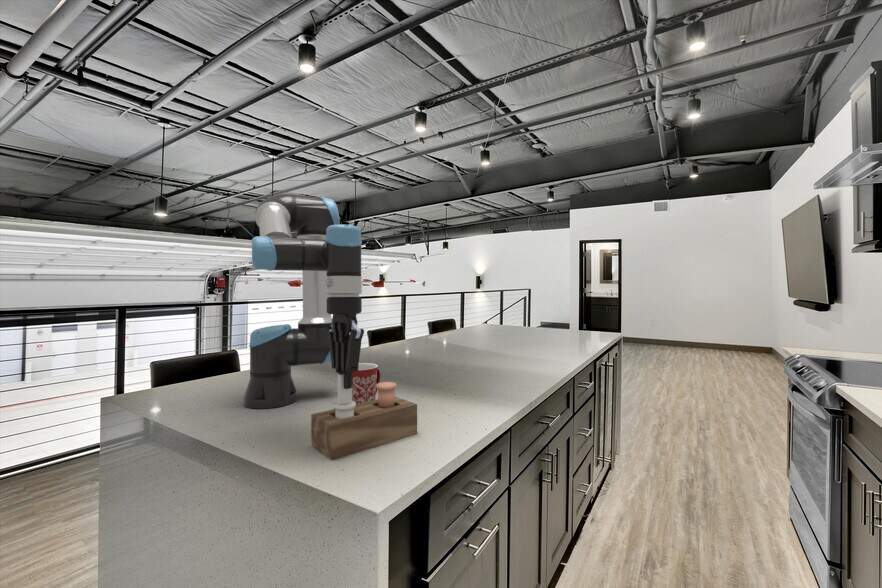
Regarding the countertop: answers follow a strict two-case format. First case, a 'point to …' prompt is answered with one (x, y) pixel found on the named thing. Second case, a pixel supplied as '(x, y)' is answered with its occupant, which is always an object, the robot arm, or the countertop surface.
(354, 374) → the mug
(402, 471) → the countertop surface
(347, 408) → the cream plug
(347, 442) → the walnut block
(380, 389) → the terracotta plug
